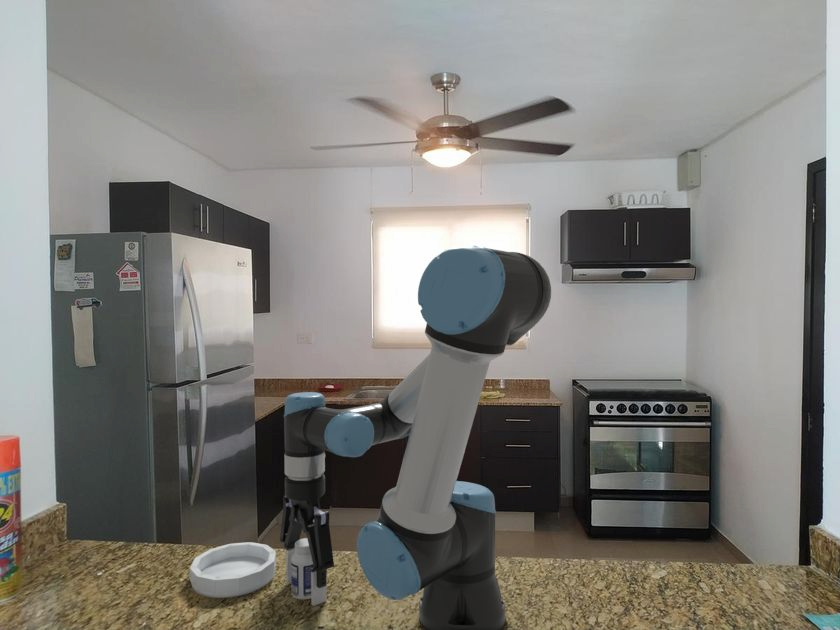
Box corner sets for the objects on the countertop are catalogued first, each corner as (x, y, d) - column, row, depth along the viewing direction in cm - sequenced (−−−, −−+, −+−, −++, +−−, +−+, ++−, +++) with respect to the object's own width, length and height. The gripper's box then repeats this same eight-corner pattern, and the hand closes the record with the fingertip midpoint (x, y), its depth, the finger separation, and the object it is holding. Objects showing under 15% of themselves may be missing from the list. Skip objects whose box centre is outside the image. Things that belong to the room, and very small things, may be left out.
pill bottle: (323, 586, 105) (323, 536, 105) (315, 601, 100) (315, 548, 100) (296, 585, 106) (296, 535, 106) (287, 599, 101) (287, 547, 101)
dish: (289, 578, 108) (288, 561, 108) (208, 607, 98) (207, 588, 98) (255, 551, 121) (255, 536, 121) (180, 574, 110) (180, 557, 110)
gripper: (353, 484, 97) (354, 608, 97) (295, 458, 114) (296, 564, 114) (316, 494, 92) (317, 624, 92) (261, 465, 109) (262, 576, 109)
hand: (305, 591), depth 103 cm, fingers open, 9 cm apart
